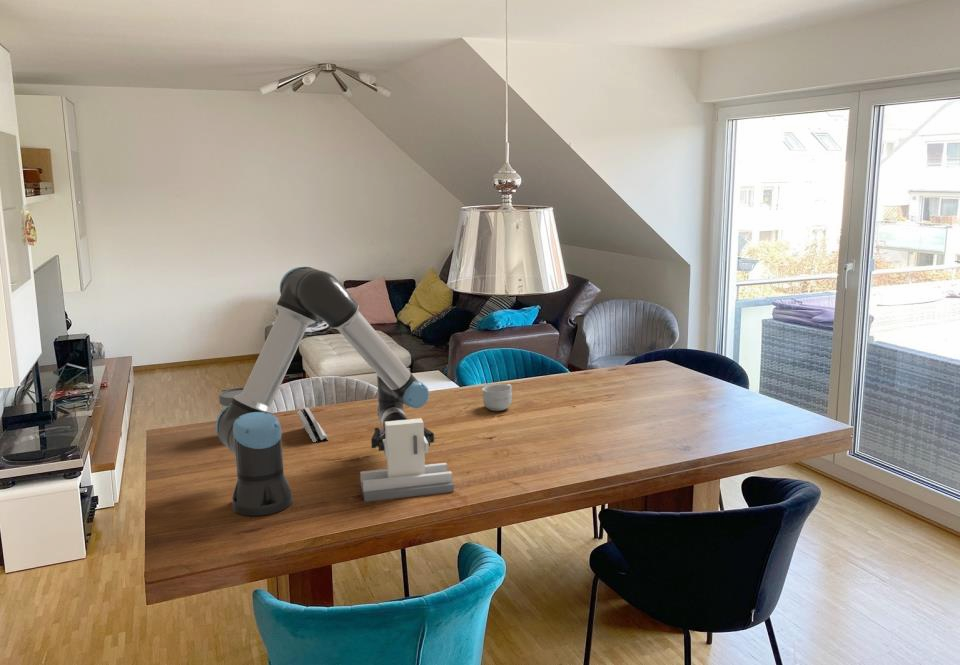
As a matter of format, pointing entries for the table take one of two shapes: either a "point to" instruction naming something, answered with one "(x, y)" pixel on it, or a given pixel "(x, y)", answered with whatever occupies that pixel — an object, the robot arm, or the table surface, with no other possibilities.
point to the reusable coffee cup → (228, 396)
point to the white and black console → (311, 425)
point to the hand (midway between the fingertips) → (407, 450)
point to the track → (406, 483)
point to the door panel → (405, 447)
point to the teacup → (497, 396)
